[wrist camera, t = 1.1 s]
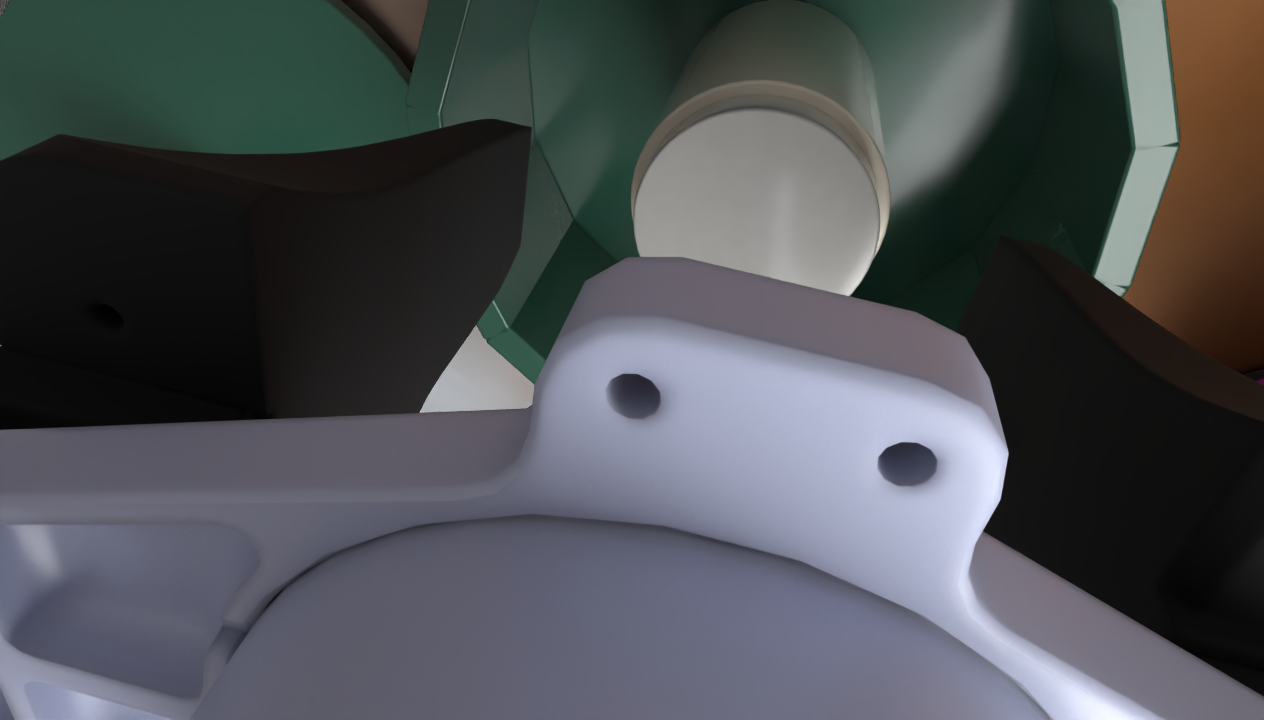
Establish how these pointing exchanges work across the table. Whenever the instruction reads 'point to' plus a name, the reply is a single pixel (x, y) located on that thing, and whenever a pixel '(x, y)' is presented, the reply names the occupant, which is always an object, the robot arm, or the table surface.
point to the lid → (198, 75)
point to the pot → (910, 119)
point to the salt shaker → (769, 152)
